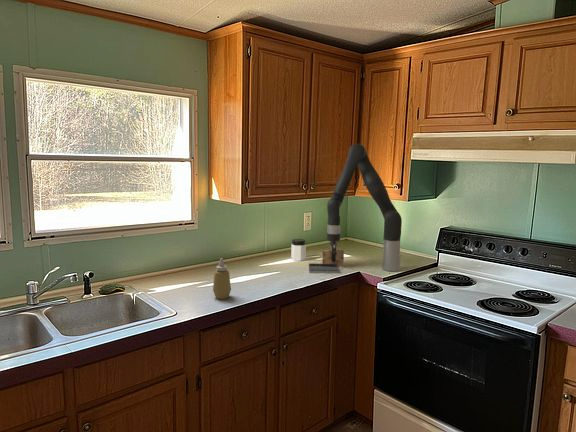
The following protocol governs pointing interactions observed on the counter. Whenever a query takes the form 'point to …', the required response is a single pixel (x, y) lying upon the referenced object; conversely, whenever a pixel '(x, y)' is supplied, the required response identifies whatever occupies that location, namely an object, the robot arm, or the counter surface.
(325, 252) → the door panel
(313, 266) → the floor track
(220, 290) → the squeeze bottle
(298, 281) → the counter surface
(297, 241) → the jar
